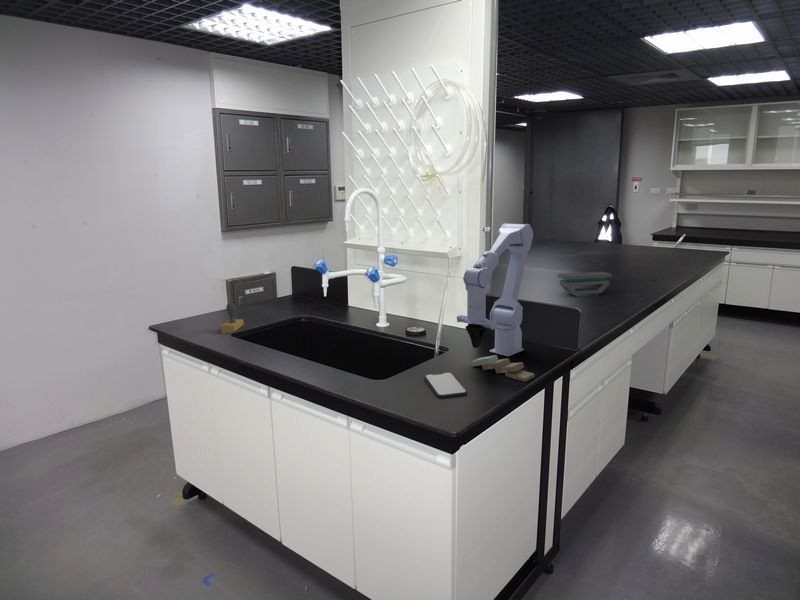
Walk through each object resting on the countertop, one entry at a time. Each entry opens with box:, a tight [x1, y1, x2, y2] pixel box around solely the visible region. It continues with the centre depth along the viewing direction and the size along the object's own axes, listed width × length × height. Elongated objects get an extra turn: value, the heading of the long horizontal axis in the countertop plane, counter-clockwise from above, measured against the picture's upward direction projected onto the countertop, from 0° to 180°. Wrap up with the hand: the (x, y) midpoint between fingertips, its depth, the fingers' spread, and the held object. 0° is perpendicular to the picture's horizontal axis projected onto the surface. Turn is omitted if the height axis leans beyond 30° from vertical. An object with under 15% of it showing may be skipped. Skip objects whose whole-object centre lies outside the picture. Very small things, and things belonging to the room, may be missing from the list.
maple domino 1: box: [481, 357, 511, 371], centre depth 163 cm, size 2×5×7 cm
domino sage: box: [470, 354, 499, 367], centre depth 166 cm, size 2×5×7 cm
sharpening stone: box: [557, 271, 613, 294], centre depth 267 cm, size 25×8×11 cm, turn 98°
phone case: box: [424, 372, 468, 399], centre depth 151 cm, size 9×2×16 cm
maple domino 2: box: [494, 361, 525, 374], centre depth 160 cm, size 2×5×7 cm
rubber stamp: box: [220, 302, 245, 332], centre depth 217 cm, size 10×6×12 cm, turn 175°
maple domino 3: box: [504, 369, 535, 382], centre depth 157 cm, size 2×5×7 cm
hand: (476, 346), depth 168 cm, fingers closed
